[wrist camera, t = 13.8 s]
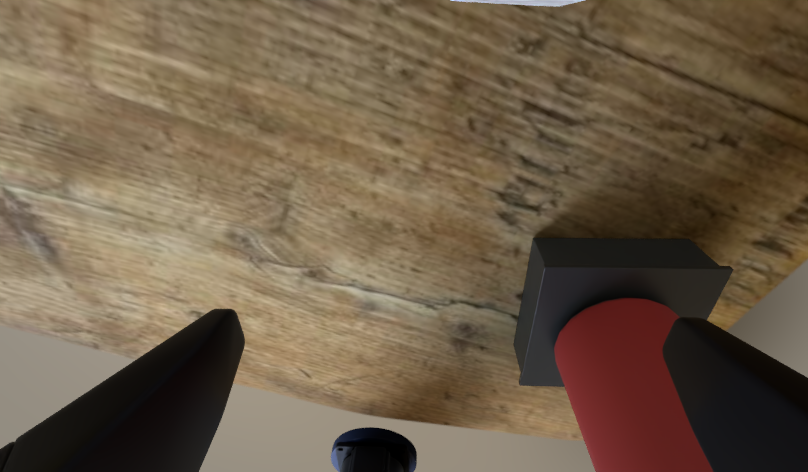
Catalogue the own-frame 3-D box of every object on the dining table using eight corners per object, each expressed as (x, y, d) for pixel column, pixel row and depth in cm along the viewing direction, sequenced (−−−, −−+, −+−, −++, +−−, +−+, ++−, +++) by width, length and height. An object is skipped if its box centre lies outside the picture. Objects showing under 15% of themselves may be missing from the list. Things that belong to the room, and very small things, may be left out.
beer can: (587, 391, 24) (712, 689, 13) (527, 331, 21) (623, 638, 11) (697, 342, 21) (956, 664, 11) (643, 268, 19) (907, 590, 8)
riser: (644, 349, 26) (670, 389, 23) (509, 346, 26) (519, 385, 24) (694, 235, 21) (734, 269, 18) (529, 234, 22) (544, 267, 19)
